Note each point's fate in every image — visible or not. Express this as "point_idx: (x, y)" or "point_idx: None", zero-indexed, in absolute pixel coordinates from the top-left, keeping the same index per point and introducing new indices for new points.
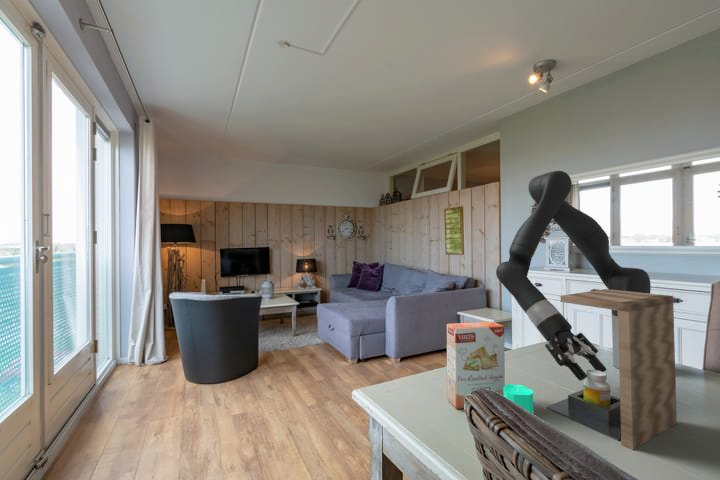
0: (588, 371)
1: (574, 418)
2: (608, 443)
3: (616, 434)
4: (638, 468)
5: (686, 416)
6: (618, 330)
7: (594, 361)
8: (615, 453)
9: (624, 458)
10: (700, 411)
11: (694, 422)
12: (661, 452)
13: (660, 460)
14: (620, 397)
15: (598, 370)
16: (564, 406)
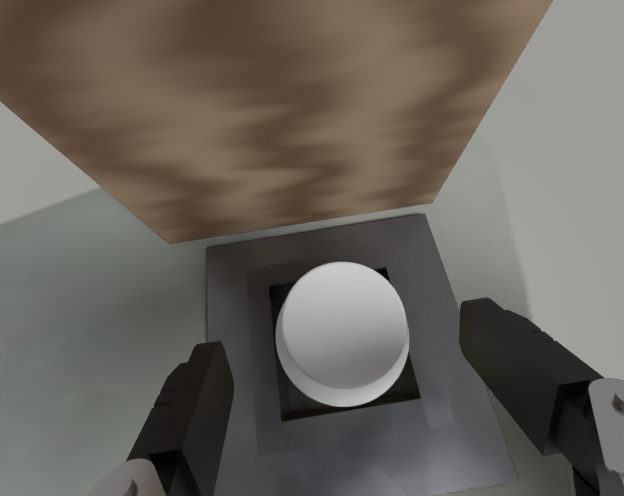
0: (384, 356)
1: None
2: (461, 217)
3: (409, 228)
4: (477, 140)
5: (91, 236)
6: None
7: (203, 436)
8: (481, 185)
9: (476, 167)
10: (15, 240)
11: (118, 210)
12: None
13: None
14: (502, 84)
15: (227, 392)
16: (429, 443)
